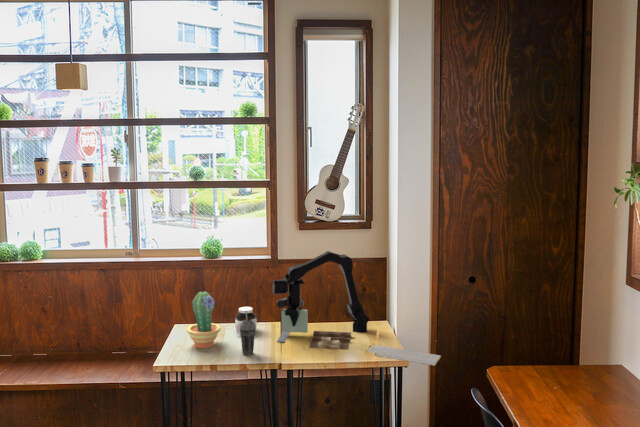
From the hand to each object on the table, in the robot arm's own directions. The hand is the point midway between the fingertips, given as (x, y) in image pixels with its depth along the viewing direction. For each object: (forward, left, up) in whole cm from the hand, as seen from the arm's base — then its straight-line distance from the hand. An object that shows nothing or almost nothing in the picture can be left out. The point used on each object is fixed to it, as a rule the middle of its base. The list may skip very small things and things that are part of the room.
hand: (294, 324), depth 289 cm
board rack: (-18, +6, -6) cm, 20 cm away
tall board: (0, 0, -3) cm, 3 cm away
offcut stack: (-18, +12, -6) cm, 22 cm away
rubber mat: (0, 0, -6) cm, 6 cm away
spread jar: (+25, -4, -7) cm, 26 cm away
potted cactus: (+40, +15, -7) cm, 43 cm away
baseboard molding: (-51, +18, -7) cm, 55 cm away
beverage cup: (+17, +24, -7) cm, 30 cm away
